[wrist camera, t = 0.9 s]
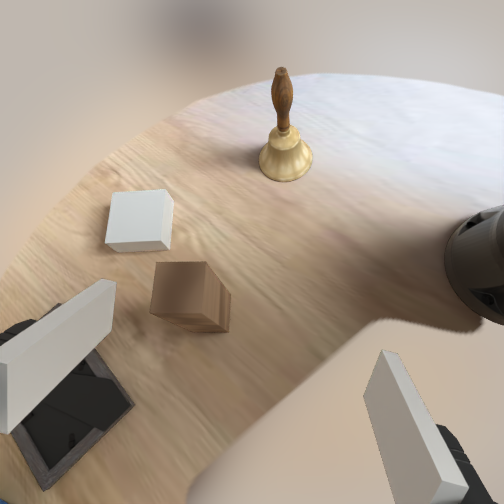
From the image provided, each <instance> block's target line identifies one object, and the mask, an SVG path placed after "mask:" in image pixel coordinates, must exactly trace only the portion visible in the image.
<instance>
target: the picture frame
mask: <svg viewBox="0 0 504 504" xmlns="http://www.w3.org/2000/svg"><path fill="white" fill-rule="evenodd" d="M61 305H63V304H60V303H58V304H57V305H56V306H55V307H53V308H52V309H51V310H50V311H49V312H48V313H46V314H45V315H44V316H43V317H45V316H46V315H48V314H49V313H51V312H52V311H54V310H55V309H57V308H58V307H60V306H61ZM43 317H42V318H43ZM42 318H41V319H42ZM38 321H39V320H38ZM134 406H135V404H134V402H133V401H132V400H131V398H130V397H129V395H128V394H127V393H126V391H125V390H124V388H123V387H122V386H121V384H120V383H119V381H118V380H117V379H116V377H115V376H114V375H113V373H112V372H111V370H110V369H109V368H108V366H107V365H106V363H105V362H104V361H103V359H102V358H101V356H100V355H99V354H98V352H97V351H96V350H95V348H94V349H93V350H92V351H91V352H90V353H89V354H88V355H87V356H86V357H85V358H84V359H83V360H82V361H81V362H80V363H79V364H78V365H77V366H76V367H75V368H74V369H73V370H72V371H71V372H70V373H69V374H68V375H67V376H66V377H65V378H64V379H63V380H62V381H61V382H60V383H59V384H58V385H57V386H56V387H55V388H54V389H53V390H52V391H51V392H50V393H49V394H48V395H47V396H46V397H45V398H44V399H43V400H42V401H41V402H40V403H39V404H38V405H37V406H36V407H35V408H34V409H33V410H32V411H31V412H30V413H29V414H28V415H27V416H26V417H25V418H24V419H23V420H22V421H21V422H20V423H19V424H18V425H17V426H16V427H15V428H14V429H13V430H12V431H11V434H12V436H13V438H14V439H15V441H16V443H17V445H18V447H19V448H20V450H21V452H22V454H23V456H24V458H25V459H26V461H27V463H28V465H29V467H30V468H31V470H32V472H33V474H34V476H35V478H36V479H37V481H38V483H39V485H40V487H41V488H42V490H43V492H44V491H46V490H48V489H49V488H50V487H51V486H52V485H53V484H55V483H56V482H57V481H58V480H59V479H60V478H61V477H62V476H63V475H64V474H65V473H66V472H67V471H68V470H69V469H70V468H71V467H72V466H73V465H74V464H75V463H76V462H77V461H78V460H79V459H80V458H81V457H82V456H83V455H84V454H85V453H86V452H87V451H88V450H89V449H91V448H92V447H93V446H94V445H95V444H96V443H97V442H98V441H99V440H100V439H101V438H102V437H103V436H104V435H105V434H106V433H107V432H108V431H109V430H110V429H111V428H112V427H113V426H114V425H115V424H116V423H117V422H118V421H119V420H120V419H121V418H122V417H123V416H124V415H126V414H127V413H128V412H129V411H130V410H131V409H132V408H133V407H134Z"/></svg>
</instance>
